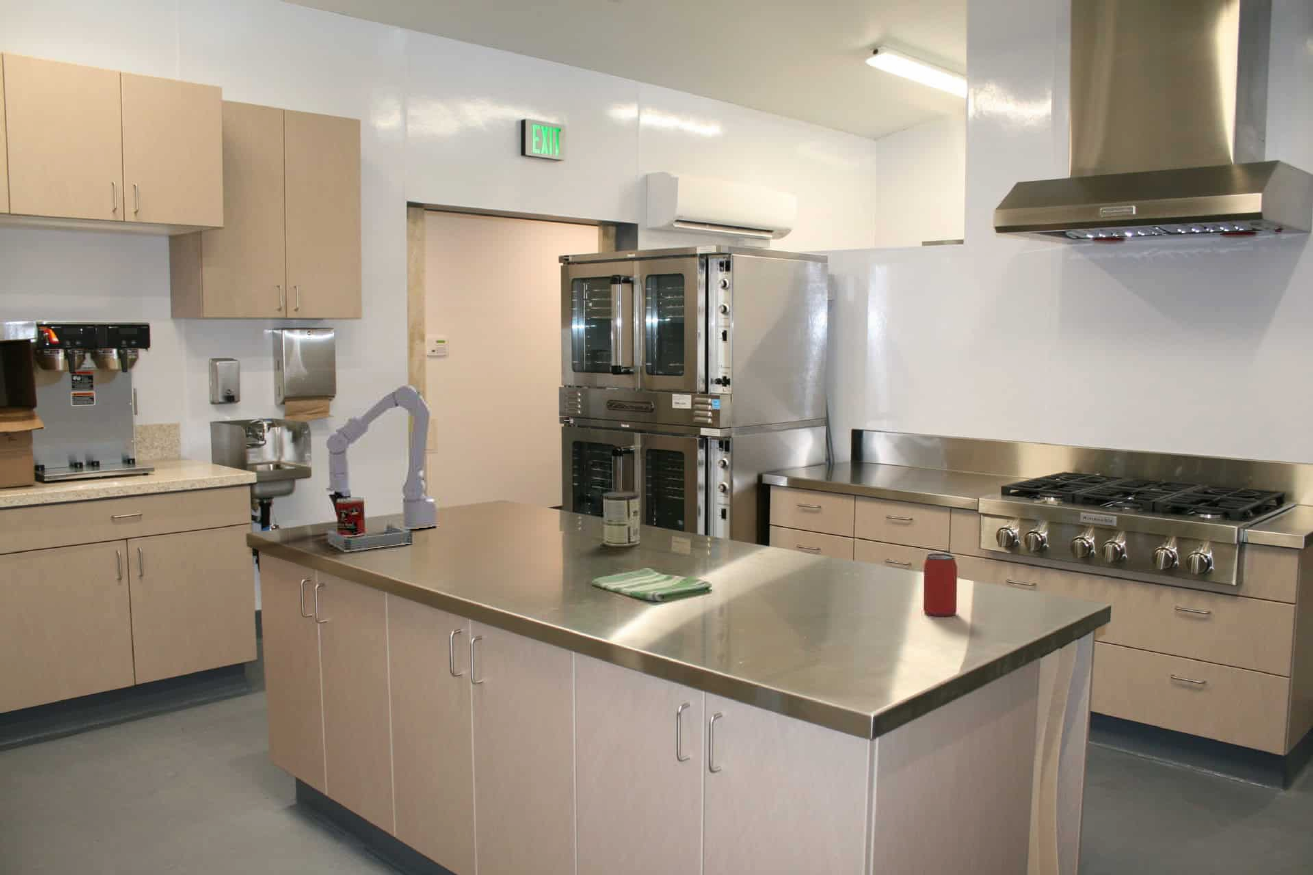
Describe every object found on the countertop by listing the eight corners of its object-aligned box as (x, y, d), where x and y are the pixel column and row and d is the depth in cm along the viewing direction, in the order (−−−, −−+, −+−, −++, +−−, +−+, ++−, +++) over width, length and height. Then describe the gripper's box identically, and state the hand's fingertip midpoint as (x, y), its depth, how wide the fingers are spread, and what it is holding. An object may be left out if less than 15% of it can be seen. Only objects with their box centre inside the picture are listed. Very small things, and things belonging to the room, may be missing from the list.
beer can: (931, 607, 213) (932, 551, 212) (961, 612, 209) (962, 555, 208) (917, 614, 208) (918, 556, 207) (948, 619, 204) (949, 560, 202)
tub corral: (392, 535, 300) (391, 523, 300) (412, 544, 287) (412, 532, 287) (327, 543, 290) (327, 531, 289) (345, 552, 276) (345, 540, 276)
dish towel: (649, 575, 247) (649, 564, 247) (715, 592, 229) (715, 580, 229) (590, 587, 236) (590, 575, 236) (654, 606, 218) (654, 593, 218)
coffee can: (606, 539, 292) (605, 490, 290) (641, 539, 291) (641, 490, 289) (600, 546, 281) (600, 496, 280) (637, 546, 280) (637, 496, 279)
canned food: (332, 537, 299) (331, 500, 298) (348, 532, 306) (346, 496, 306) (355, 538, 297) (353, 501, 296) (370, 533, 304) (369, 497, 303)
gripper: (318, 471, 312) (320, 515, 313) (333, 476, 300) (334, 521, 301) (341, 469, 316) (343, 512, 317) (356, 474, 304) (358, 518, 305)
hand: (340, 516), depth 309 cm, fingers closed
